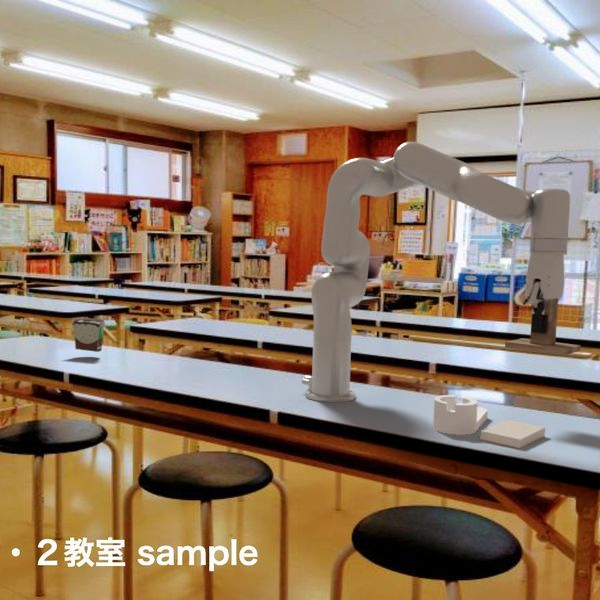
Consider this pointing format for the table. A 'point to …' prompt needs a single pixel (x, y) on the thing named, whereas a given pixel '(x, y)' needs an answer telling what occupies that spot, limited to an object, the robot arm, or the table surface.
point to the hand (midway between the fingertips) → (543, 331)
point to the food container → (88, 334)
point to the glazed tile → (512, 434)
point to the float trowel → (545, 336)
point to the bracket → (457, 415)
